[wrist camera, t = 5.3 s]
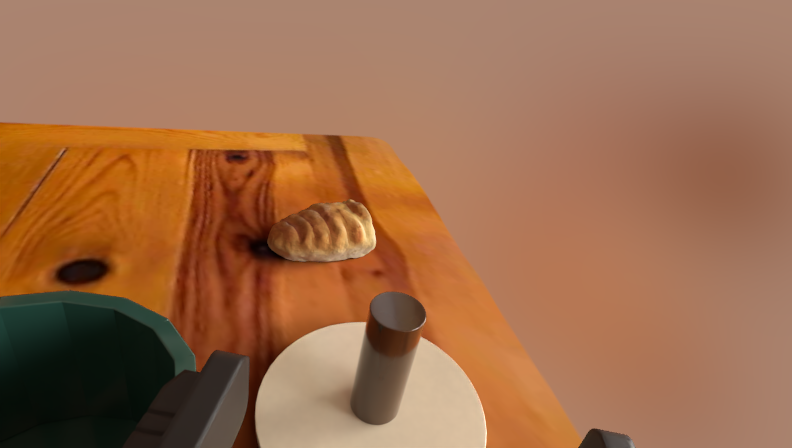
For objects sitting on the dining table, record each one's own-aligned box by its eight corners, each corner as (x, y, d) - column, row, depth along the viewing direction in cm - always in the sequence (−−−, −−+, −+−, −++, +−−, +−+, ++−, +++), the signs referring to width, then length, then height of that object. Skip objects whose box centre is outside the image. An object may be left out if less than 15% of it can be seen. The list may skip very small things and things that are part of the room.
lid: (240, 349, 30) (242, 243, 26) (423, 320, 36) (450, 230, 32) (278, 584, 20) (292, 473, 16) (527, 491, 26) (587, 391, 21)
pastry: (285, 278, 37) (288, 239, 35) (255, 235, 42) (256, 198, 40) (379, 255, 43) (387, 220, 41) (344, 219, 47) (349, 186, 45)
